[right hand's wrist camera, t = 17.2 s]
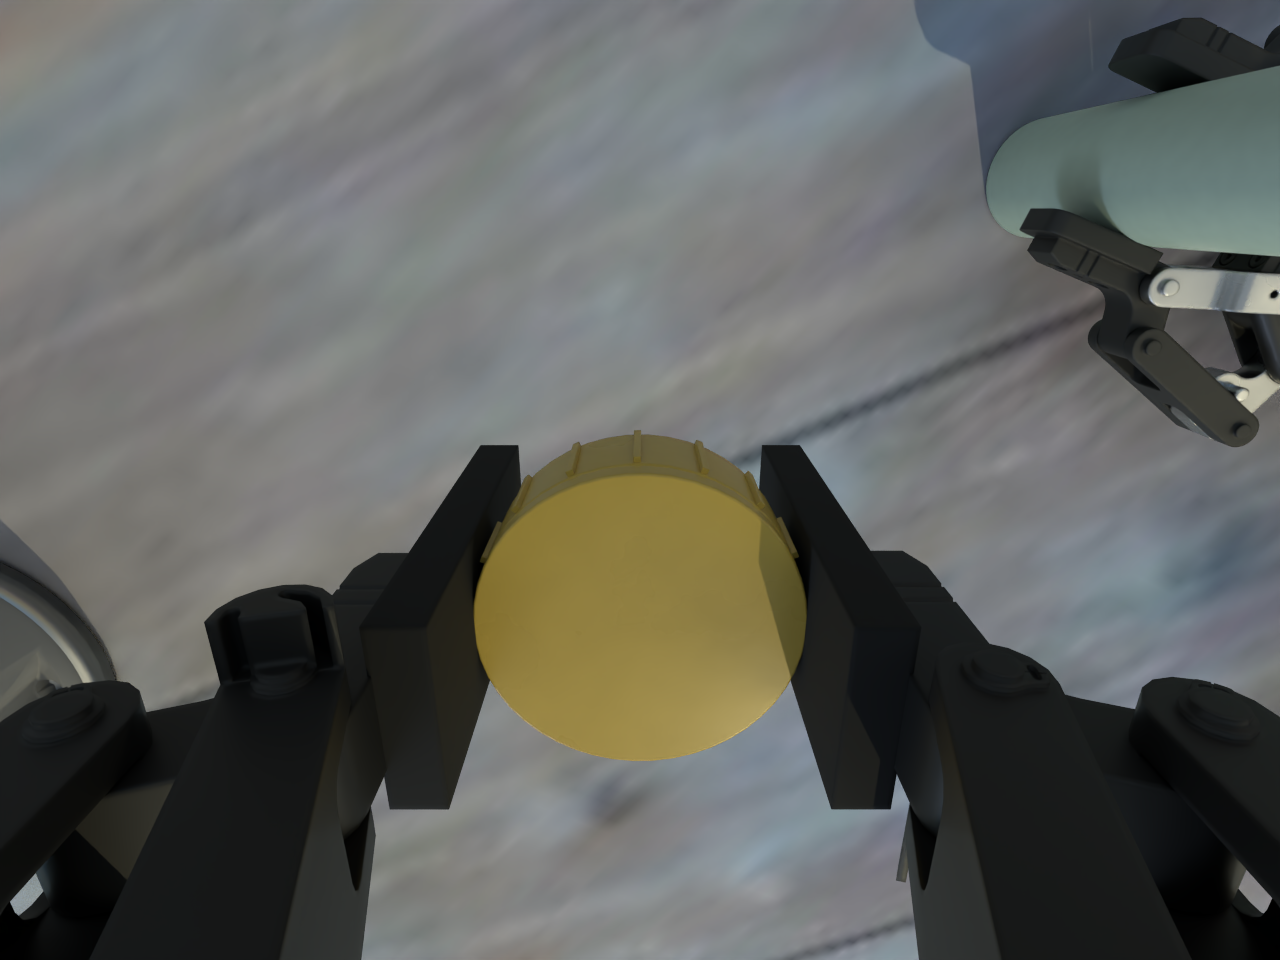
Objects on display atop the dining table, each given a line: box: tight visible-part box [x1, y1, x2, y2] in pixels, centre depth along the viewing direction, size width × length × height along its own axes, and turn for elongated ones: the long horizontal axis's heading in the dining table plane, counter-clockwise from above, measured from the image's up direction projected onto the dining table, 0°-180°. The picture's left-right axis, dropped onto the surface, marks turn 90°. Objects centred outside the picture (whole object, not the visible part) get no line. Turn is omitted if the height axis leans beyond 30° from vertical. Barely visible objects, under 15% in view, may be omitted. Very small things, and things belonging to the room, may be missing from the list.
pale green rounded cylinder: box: [986, 66, 1280, 256], centre depth 19 cm, size 4×4×20 cm
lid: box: [473, 430, 807, 761], centre depth 11 cm, size 5×5×2 cm
